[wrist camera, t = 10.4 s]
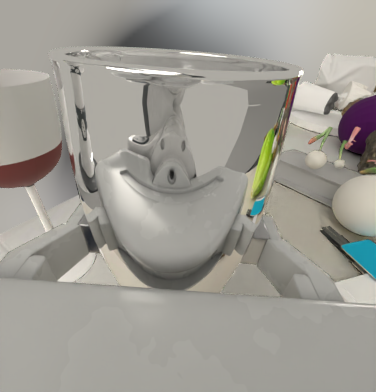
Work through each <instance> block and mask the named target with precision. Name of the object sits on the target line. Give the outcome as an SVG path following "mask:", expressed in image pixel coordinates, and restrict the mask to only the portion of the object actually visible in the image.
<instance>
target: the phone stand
mask: <svg viewBox="0 0 376 392" xmlns="http://www.w3.org/2000/svg"><path fill="white" fill-rule="evenodd" d="M327 228H328V229H327ZM327 228H326V227H323V228H322V229H323V230H320V231H321V232H322V233H323V234H324V235H325V236H326V237H327V238H328V239H329V240H330V241H331V242H332V243H333V244H334V245H335V246H336V247H337V248H338V249H339V250H340V251H341V252H342V253H343V254H344V255H345V256H347V257H348V258H349V259H350V260H351V261H352V262H353V263H352V264H353V265H354V266H355V267H356V268H357V269H358V270H360V271H361V272H362V273H363V274H364V275H360V276H356V277H353V278H349V279H345V280H342V281H338V282H335V283H334V284H335V285H336V287H337V289H338V291H339V293H340V294H341V296H342V298H343V300H344V302H352V303H366V304H376V242H375V243H374V242H372V241H371V240H368V239H365V240H361V241H357V242H352V243H350V242H349V241H348V240H347V239H345V238H344V237H343V236H342V235H339V234H338V233H337V232H336V231H335V230H334V229H332V228H331V227H330V226H328V227H327ZM324 230H325V231H326V232H327V233H326V232H325V231H324ZM335 235H336V236H335Z"/></svg>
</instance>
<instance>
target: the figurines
mask: <svg viewBox="0 0 376 392" xmlns="http://www.w3.org/2000/svg"><path fill="white" fill-rule="evenodd" d="M332 129H333V128H332V127H328V129H326V130H325V131H324V132H323V133H321V134H320V135H317V136H315V137H313V138H312V139H311V140H310V141H309V143H308V144H311V143H313V142H315V141H316V140H318V139H320V138H321V137H323V136H324V135H325V136H324V138H323V140H322V143H321V146H320V150H314V151H311V152H309V153H308V154H307V156H306V158H305V163H306V165H307V166H308V167H309V168H311V169H319V168H321V167H323V166H324V165H325V163H326V161H327V156H326V154H325V153H324V152H322V151H321V148H322V146H323V144H324V142H325V140H326V138H327V137H328V135H329V134H330V132H331V130H332ZM360 129H361V128H359V127H355V128H354V130H353V132H352V134H351V137H350V139H349V141H345V140H344V141H343V143H342V144H341V147H340V150H339V159H338V160H336V161H335V162H334V166H335V167H336V168H338V169H340V168H343V167H344V166H345V161H344V160H342V159H341V155H342V151H343V148H344V146H345V149H348V148H349V147H350V146H351V145H353V144H352V143H351V141H352V140H353V139H354V137H355V136H356V135H357V133H358V132H359V131H360ZM353 141H354V142H356V141H355V140H353ZM370 161H372V162H375V164H376V160H368V161H367V162H370ZM367 173H375V174H376V167H373V168H368V169H366V170H362V171H360V174H367ZM332 209H333V213H334V215H335V217H336V219H337V220H338V221H339V223H340V224H341V225H342V226H344V227H345V228H346V229H348V230H350V231H352V232H354V233H356V234H359V235H363V236H372V237H376V175H362V176H358V177H355V178H352V179H350V180H348V181H346V182H345V183H344V184H342V185H341V186H340V187H339V188H338V190H337V191H336V193H335V194H334V197H333V201H332Z"/></svg>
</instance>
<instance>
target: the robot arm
mask: <svg viewBox="0 0 376 392" xmlns="http://www.w3.org/2000/svg"><path fill="white" fill-rule="evenodd" d="M89 253H100V251H99V249H98V247H97V245H96V243H95V241H94V239H93V237H92V234H91V231H90V228H89V225H88V222H87V220H86V217H85V214H84V211H83V208H82V205H81V203H80V204H79V206H78V207H77V209H76V210H75V211H74V213H73V214H72V215H71V217H70V218H69V220H68V221H67V222H66V224H61V225H59V226H57V227H55V228H53V229H51V230H50V231H48V232H46V233H44V234H42V235H40V236H38V237H36V238H34V239H32V240H31V241H29V242H27V243H25V244H23V245H21V246H19V247H17V248H15V249H13V250H12V251H10V252H8V253H7V254H6V256H5V257H4V258H3V259H2V260H1V261H0V392H376V304H366V303H352V302H344V300H343V298H342V296H341V294H340V293H339V291H338V289H337V287H336V285H335V284H334V282H333V280H332V278H331V276H330V275H328V274H327V273H326V272H325V271H323V270H322V269H321V268H320V267H318V266H317V265H316V264H315V263H313V262H312V261H311V260H310V259H308V258H307V257H306V256H305V255H303V254H302V253H301V252H300V251H298V250H297V249H296V248H294V247H293V246H292V245H291V244H289V243H288V242H287V241H286V240H282V238H281V236H280V233H279V231H278V229H277V226H276V224H275V222H274V219H273V217H272V216H264V215H263V216H262V219H261V221H260V223H259V226H258V228H257V231H256V233H255V236H254V238H253V240H252V242H251V244H250V246H249V248H248V249H247V251H246V253H245V255H244V257H243V258H242V260H241V262H240V263H244V264H254V265H257V267H258V268H259V269H260V270H261V272H262V273H263V274H264V275H265V276H266V278H267V279H268V280H269V281H270V282H271V284H272V285H273V286H274V287H275V289H276V290H277V291H278V292H279V293H280V295H281V296H280V297H269V296H255V295H241V294H226V293H212V292H198V291H184V290H170V289H156V288H142V287H128V286H115V285H101V284H87V283H72V282H58V281H57V280H58V279H60V278H61V277H62V276H63V275H64V274H65V273H67V272H68V271H69V270H70V269H71V268H73V267H74V266H75V265H76V264H77V263H79V262H80V261H81V260H82V259H83V258H84V257H86V256H87V255H88V254H89Z"/></svg>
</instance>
